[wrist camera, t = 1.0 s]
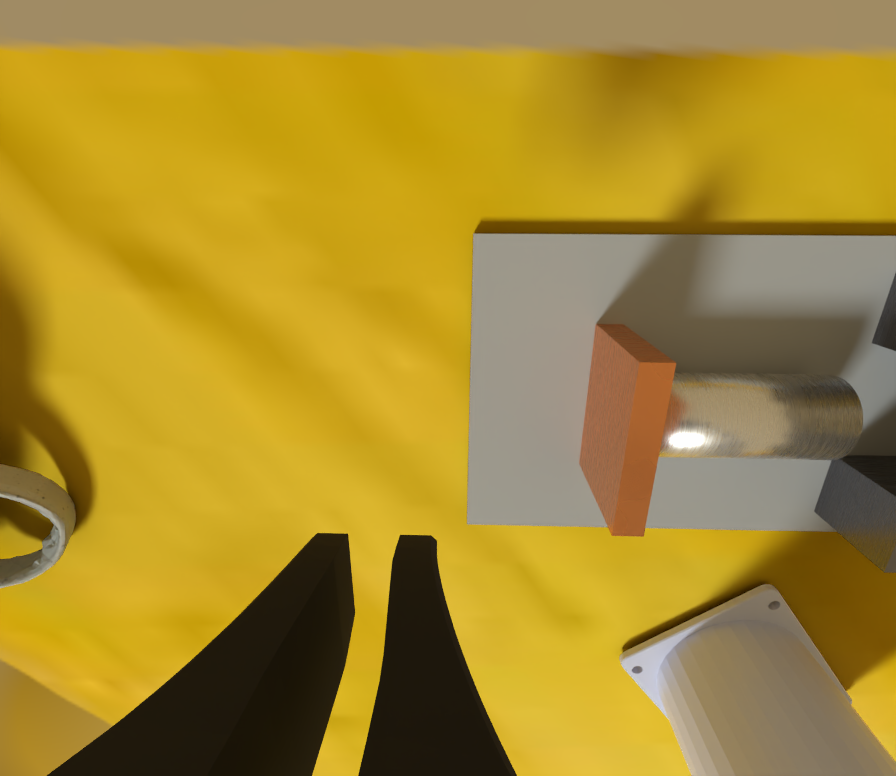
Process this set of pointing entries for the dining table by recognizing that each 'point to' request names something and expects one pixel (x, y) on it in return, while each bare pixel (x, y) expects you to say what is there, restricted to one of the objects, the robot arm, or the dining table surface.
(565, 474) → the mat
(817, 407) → the pin
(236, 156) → the dining table surface
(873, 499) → the hitch block
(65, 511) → the ceramic mug
